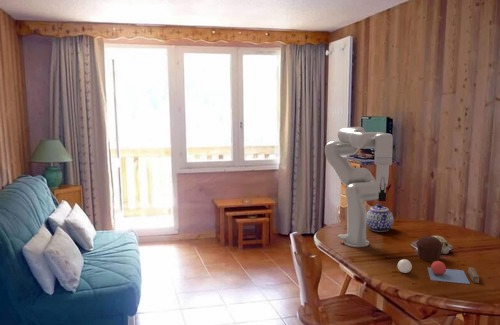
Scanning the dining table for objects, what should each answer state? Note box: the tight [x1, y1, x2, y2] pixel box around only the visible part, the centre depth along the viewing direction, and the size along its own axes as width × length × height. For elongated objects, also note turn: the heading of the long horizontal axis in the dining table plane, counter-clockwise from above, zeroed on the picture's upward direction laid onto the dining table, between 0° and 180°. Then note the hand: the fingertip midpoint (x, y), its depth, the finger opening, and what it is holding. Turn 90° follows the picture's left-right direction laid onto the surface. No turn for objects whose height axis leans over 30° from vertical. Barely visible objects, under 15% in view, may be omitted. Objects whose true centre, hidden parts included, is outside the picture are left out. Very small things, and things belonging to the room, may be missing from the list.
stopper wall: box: [467, 267, 480, 284], centre depth 167 cm, size 2×10×2 cm, turn 163°
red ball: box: [430, 260, 447, 275], centre depth 171 cm, size 6×6×6 cm
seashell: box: [432, 235, 450, 255], centre depth 200 cm, size 10×10×10 cm
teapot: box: [366, 203, 394, 233], centre depth 237 cm, size 25×15×15 cm, turn 173°
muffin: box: [415, 235, 443, 263], centre depth 190 cm, size 12×11×10 cm
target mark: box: [427, 266, 471, 285], centre depth 170 cm, size 14×14×1 cm
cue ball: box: [397, 258, 413, 274], centre depth 173 cm, size 6×6×6 cm
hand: (382, 200), depth 189 cm, fingers closed
